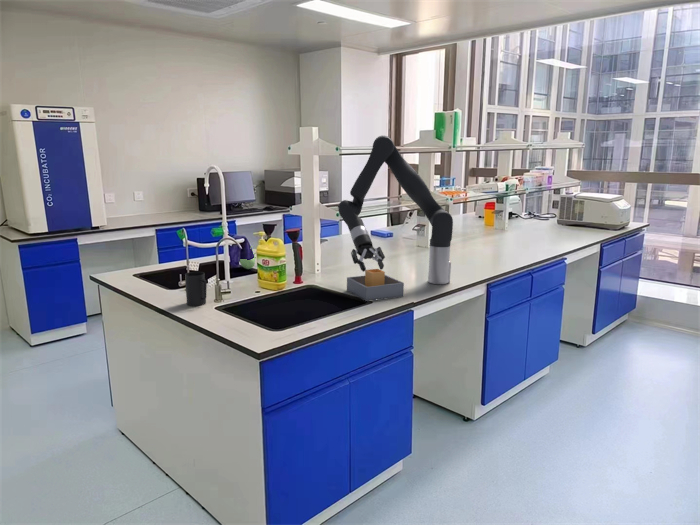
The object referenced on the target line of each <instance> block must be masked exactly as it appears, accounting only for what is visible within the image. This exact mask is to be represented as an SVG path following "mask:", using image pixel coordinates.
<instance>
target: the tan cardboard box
mask: <svg viewBox="0 0 700 525" xmlns="http://www.w3.org/2000/svg"><path fill="white" fill-rule="evenodd" d="M364 272H365V273H364V275H365V286H366V287H371V286H379V285H384V281H385V275H386V271H384V270H383V269H382V270H380V268H371V269H370V268H369V269H366V270H365V271H364Z"/></svg>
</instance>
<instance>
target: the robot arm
mask: <svg viewBox="0 0 700 525" xmlns="http://www.w3.org/2000/svg"><path fill="white" fill-rule="evenodd" d="M384 163H385V164H386V165H387V166H388V167H389V169H390V170H391V172H392V174H393V176H394V178H395V179H396V181H397V183H398V184H399V185H400V187H401V188H402V189H403V191H404V192H405V193H406V195H407V196H408V197H409V199H411V200H412V201H413V202H414V203H415V204H416V205H417V206H418V208H420V210H421V211H422V212H423V214H424V215H425V216H426V218H427V220H428V221H429V223H430V225H431V236H430V240H429V255H428V256H429V257H428V272H427V274H428V276H427V282H428V283H429V284H435V285H447V284H448V283H450V282H451V272H452V271H451V269H452V262H451V261H450V255H451V242H452V238H453V230H454V228H453V227H454V219H453V216H452V215H451V214H450V213H449V212H448V211H446V210H445V209H444V208H443V207H442V206H441V205H440V204H439V203H438V202H437V201H436V199H435V198H434V197H433V195H432V193H431V190H430V189H429V187H428V186H427V184H426V182H425V181H424V180H423V178H422V177H421V176H420V175H419V173H418V172H417V171H416V170H415V169H414V167H413V166H412V165H411V164H410V163H408V162H407V160H406V159H405V158H404V157H403V156H402V154H401V153H400V152H399V150H398V148H397V146H396V145H395V144H394V141H393V140H392V138H391V137H389V136H387V135H379V136H377V137H376V138H375V139H374V141H373V144H372V148H371V151H370V155H369V157H368V160H367V161H366V163H365V165H364V166H363V168H362V170H361V172H360V173H359V175H358V176H357V178H356V180H355V182H353V186H352V187H351V190H350V191H349V192H350V196H351V197H353V199H352V201H351V200H348V199H343V200H341V201H340V202H339V204H338V213H339V215H340V217H341V218H342V220H343V222H344V223H345V224H346V226H347V227H348V228H347V229H348V230H349V233H350V237H351V239H352V243H353V245H354V248H355V249H354V248H353V249H351V251H350V255H351V258H352V262H353V264H354V265H356V264H358V266H359V268H360V270H361V271H362V272H365V270H367V269H366V266H365V263H364V260H367V259H368V260H371V259H372V260H373V261H376V262H377V265H378V267H379V268H378V269H379V270H382V271H383V269H384V267H385V264H384V262H383V261H384V259H385V258H386V256H385V254H384V251H383V249H382V247H381V246H378V247H376V248H375V247H374V244H373V242H372V239H371V237H370V234H369V232H368V230H367V228H366V227H365V226H366V225H365V224H364V222H363V219H362V218H361V217H360V216H359V215H360V214H361V212H362V209H363V205H364V201H365V198H366V195H367V194H368V192H369V190H370V188H371V187H372V184H373V183H374V180H375V178H376V176H377V174H378V172H379V170H380V169H381V167H382V166H383V165H384ZM358 256H359V258H358Z"/></svg>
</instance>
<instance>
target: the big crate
mask: <svg viewBox="0 0 700 525" xmlns="http://www.w3.org/2000/svg"><path fill="white" fill-rule="evenodd" d="M404 285H405V284H404V282H403V281H400V280H398V279H395V278H394V277H391V276H390V275H387V274H385V281H384V285H379V286H371V287H366V286H365V274H363V275H355V276H348V277H346V291H348V292H349V293H350V292H351V293H350V294H352V295H354V296H356V297H357V296H358V297H357V298H359V297H360V298H359V299H361V298H362V299H361V300H363V301H364V300H365V301H364V302H366V301H367V302H370V301H369V300H374V301H377V300H376V299H381V300H386V299H385V298H388V299H394V297H395V298H399V297H400V298H401V297H404V290H405V288H404V287H405V286H404Z"/></svg>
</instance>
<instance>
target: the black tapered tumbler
mask: <svg viewBox="0 0 700 525" xmlns="http://www.w3.org/2000/svg"><path fill="white" fill-rule="evenodd" d="M184 277H185V278H184V279H185V280H184V282H185V294H186V295H185V296H186V305H187V306H189V307H200V306H203V305H206V304H207V285H208V284H207V283H208V282H207V281H208V280H206V278H205V272H203V271H189V272H186V273H185V274H184Z"/></svg>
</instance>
